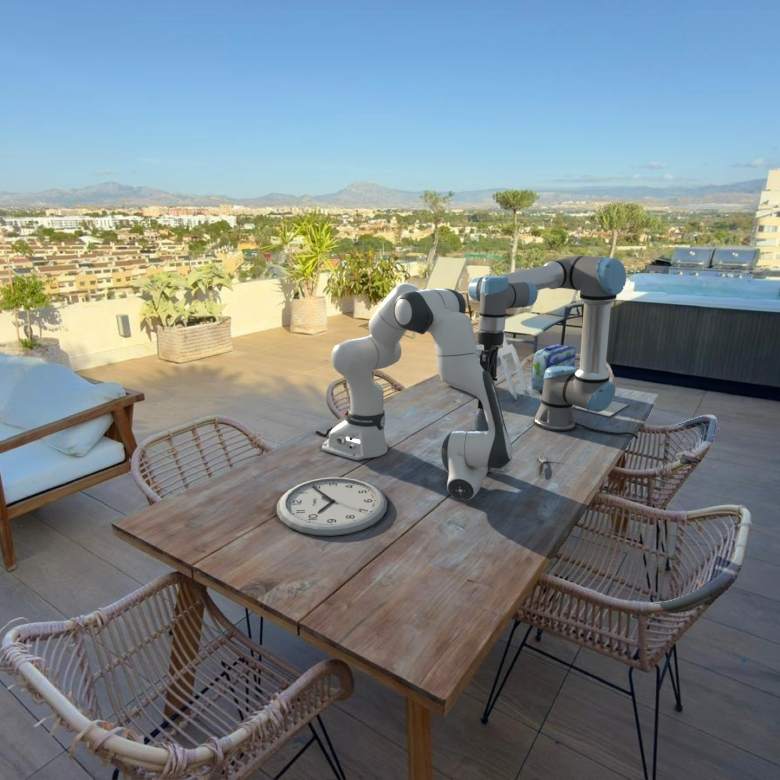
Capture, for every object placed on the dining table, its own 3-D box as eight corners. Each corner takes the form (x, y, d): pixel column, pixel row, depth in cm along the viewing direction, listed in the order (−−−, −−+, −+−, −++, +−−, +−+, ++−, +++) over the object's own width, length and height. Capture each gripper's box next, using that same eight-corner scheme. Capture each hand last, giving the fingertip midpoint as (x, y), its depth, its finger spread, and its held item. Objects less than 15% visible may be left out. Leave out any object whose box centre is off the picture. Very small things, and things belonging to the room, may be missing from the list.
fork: (535, 475, 162) (535, 469, 161) (539, 455, 176) (540, 450, 175) (543, 477, 161) (544, 471, 160) (547, 456, 175) (548, 451, 175)
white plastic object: (461, 429, 252) (437, 405, 227) (444, 352, 274) (420, 323, 250) (535, 404, 240) (518, 377, 215) (510, 326, 262) (492, 293, 237)
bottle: (475, 474, 162) (480, 404, 156) (469, 466, 168) (474, 398, 161) (492, 472, 164) (498, 403, 157) (485, 465, 169) (490, 397, 162)
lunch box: (547, 397, 237) (552, 352, 231) (526, 391, 245) (531, 348, 238) (574, 386, 255) (580, 344, 249) (554, 381, 262) (559, 340, 256)
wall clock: (392, 527, 129) (268, 531, 127) (391, 533, 130) (269, 537, 127) (383, 473, 158) (282, 475, 155) (383, 478, 158) (282, 480, 156)
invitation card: (608, 416, 214) (573, 407, 224) (608, 416, 214) (573, 408, 224) (628, 404, 229) (594, 396, 238) (628, 405, 229) (594, 397, 238)
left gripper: (510, 462, 148) (517, 444, 160) (440, 450, 154) (451, 434, 167) (508, 482, 150) (515, 463, 162) (439, 470, 156) (450, 452, 169)
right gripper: (486, 323, 162) (481, 394, 169) (469, 335, 145) (464, 413, 152) (510, 326, 160) (504, 397, 166) (496, 337, 142) (490, 416, 149)
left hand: (482, 448), depth 164 cm, fingers closed on bottle, 5 cm apart
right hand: (485, 404), depth 159 cm, fingers open, 7 cm apart
